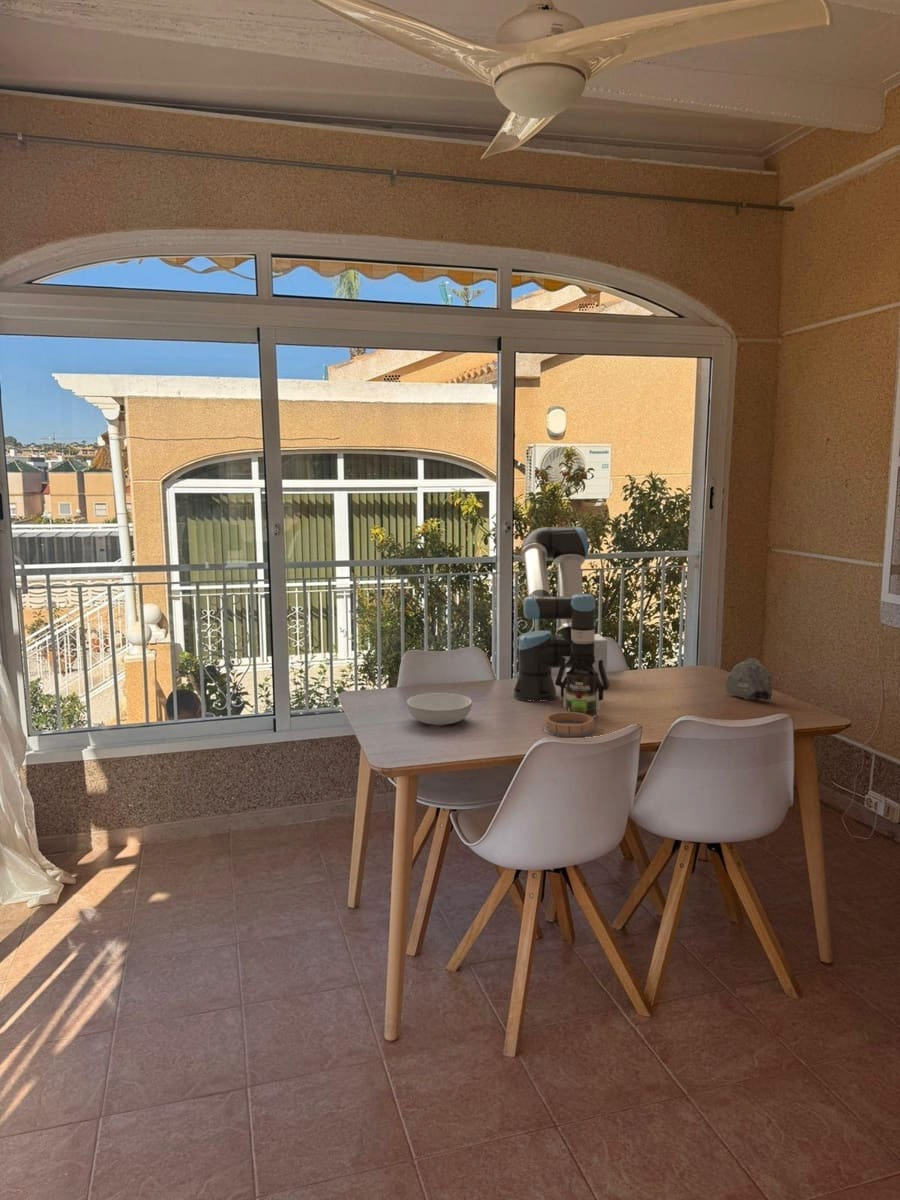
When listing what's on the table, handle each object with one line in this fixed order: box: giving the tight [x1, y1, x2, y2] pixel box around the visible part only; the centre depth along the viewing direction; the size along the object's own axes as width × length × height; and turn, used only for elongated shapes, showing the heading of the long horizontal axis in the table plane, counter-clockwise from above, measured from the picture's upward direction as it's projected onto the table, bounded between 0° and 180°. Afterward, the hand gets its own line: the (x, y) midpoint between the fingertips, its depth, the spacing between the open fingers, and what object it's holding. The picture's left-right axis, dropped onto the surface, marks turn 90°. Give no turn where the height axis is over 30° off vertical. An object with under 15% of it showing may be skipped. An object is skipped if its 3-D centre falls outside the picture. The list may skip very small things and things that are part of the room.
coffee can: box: [565, 670, 598, 719], centre depth 267 cm, size 10×10×14 cm
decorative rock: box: [724, 657, 773, 701], centre depth 284 cm, size 16×7×15 cm, turn 33°
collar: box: [542, 711, 596, 738], centre depth 252 cm, size 16×16×4 cm
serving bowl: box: [406, 692, 473, 726], centre depth 262 cm, size 21×21×7 cm
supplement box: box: [565, 633, 608, 685], centre depth 311 cm, size 13×13×18 cm
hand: (581, 708), depth 267 cm, fingers closed on coffee can, 10 cm apart
